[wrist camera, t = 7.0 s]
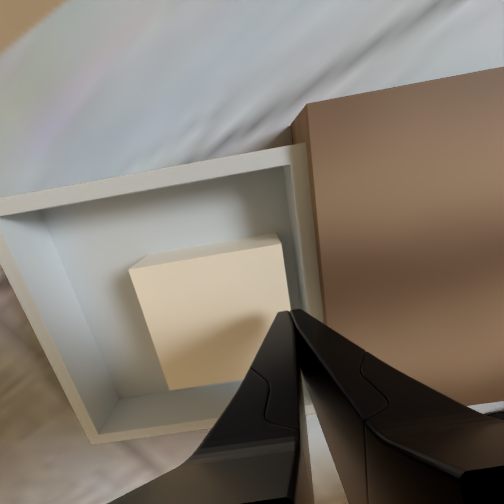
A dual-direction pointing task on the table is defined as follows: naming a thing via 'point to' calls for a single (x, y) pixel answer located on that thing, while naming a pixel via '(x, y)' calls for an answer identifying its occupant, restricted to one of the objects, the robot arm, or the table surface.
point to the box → (121, 286)
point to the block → (211, 306)
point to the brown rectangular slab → (414, 227)
